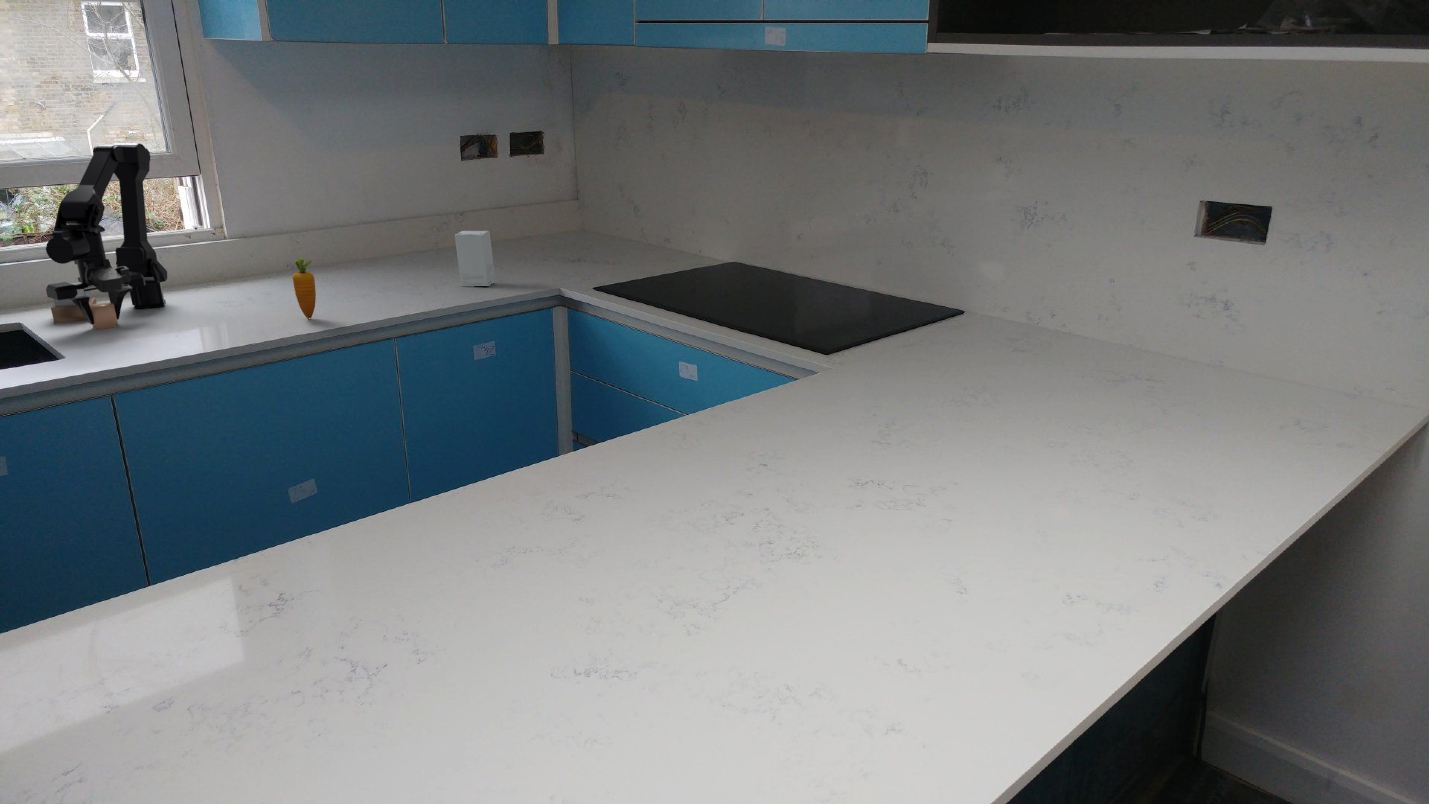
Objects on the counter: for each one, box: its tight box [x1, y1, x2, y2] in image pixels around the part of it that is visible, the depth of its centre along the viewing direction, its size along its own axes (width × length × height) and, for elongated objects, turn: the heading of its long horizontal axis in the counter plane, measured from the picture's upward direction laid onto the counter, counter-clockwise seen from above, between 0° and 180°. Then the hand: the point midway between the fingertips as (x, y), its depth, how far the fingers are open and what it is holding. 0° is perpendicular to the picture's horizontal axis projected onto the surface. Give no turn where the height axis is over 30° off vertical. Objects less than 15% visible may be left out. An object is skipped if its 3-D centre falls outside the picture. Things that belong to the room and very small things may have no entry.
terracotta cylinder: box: [90, 302, 119, 330], centre depth 218 cm, size 5×5×5 cm
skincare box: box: [454, 230, 496, 287], centre depth 260 cm, size 8×6×15 cm
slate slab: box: [53, 282, 93, 307], centre depth 224 cm, size 6×6×4 cm
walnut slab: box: [50, 297, 98, 324], centre depth 225 cm, size 8×8×4 cm
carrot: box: [292, 257, 317, 320], centre depth 224 cm, size 5×5×15 cm
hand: (104, 321), depth 218 cm, fingers closed on terracotta cylinder, 5 cm apart
